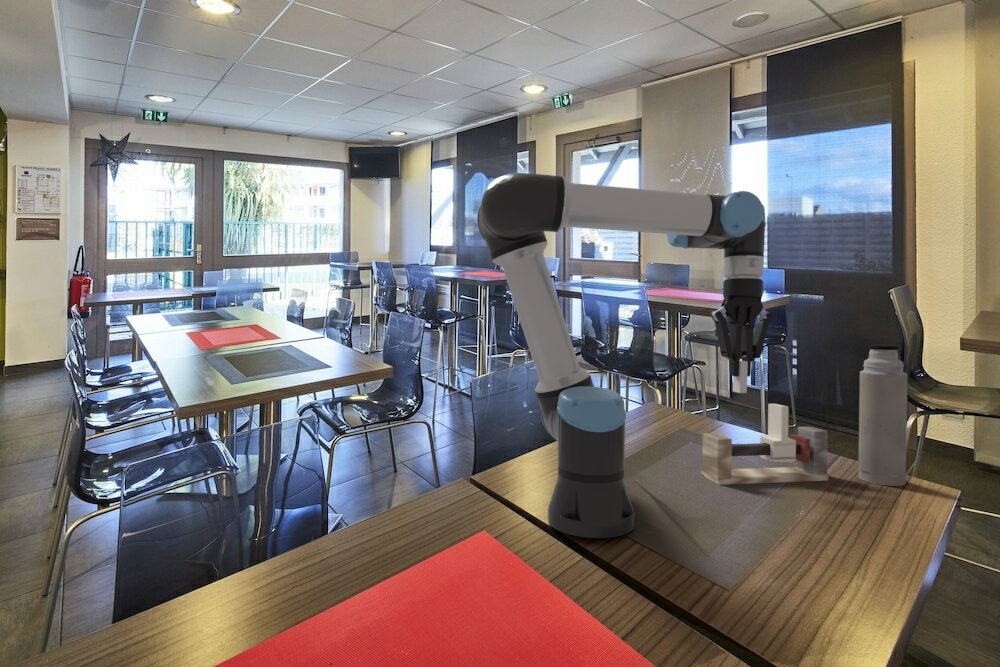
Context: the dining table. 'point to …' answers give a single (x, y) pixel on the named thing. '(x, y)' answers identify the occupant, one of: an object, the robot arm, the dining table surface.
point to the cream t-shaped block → (779, 436)
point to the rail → (743, 476)
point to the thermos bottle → (883, 418)
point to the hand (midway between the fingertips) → (739, 392)
